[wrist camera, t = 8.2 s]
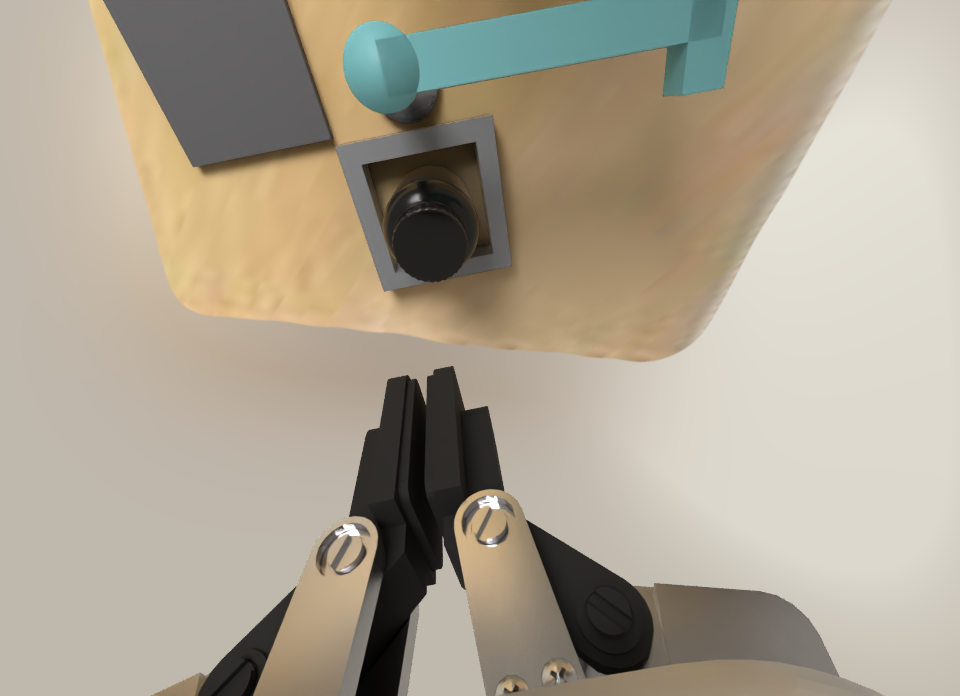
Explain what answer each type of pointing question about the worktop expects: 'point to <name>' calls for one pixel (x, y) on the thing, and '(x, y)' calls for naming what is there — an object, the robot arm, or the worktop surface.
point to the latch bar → (541, 47)
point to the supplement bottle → (431, 224)
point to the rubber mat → (225, 74)
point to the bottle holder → (420, 141)
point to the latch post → (416, 108)
